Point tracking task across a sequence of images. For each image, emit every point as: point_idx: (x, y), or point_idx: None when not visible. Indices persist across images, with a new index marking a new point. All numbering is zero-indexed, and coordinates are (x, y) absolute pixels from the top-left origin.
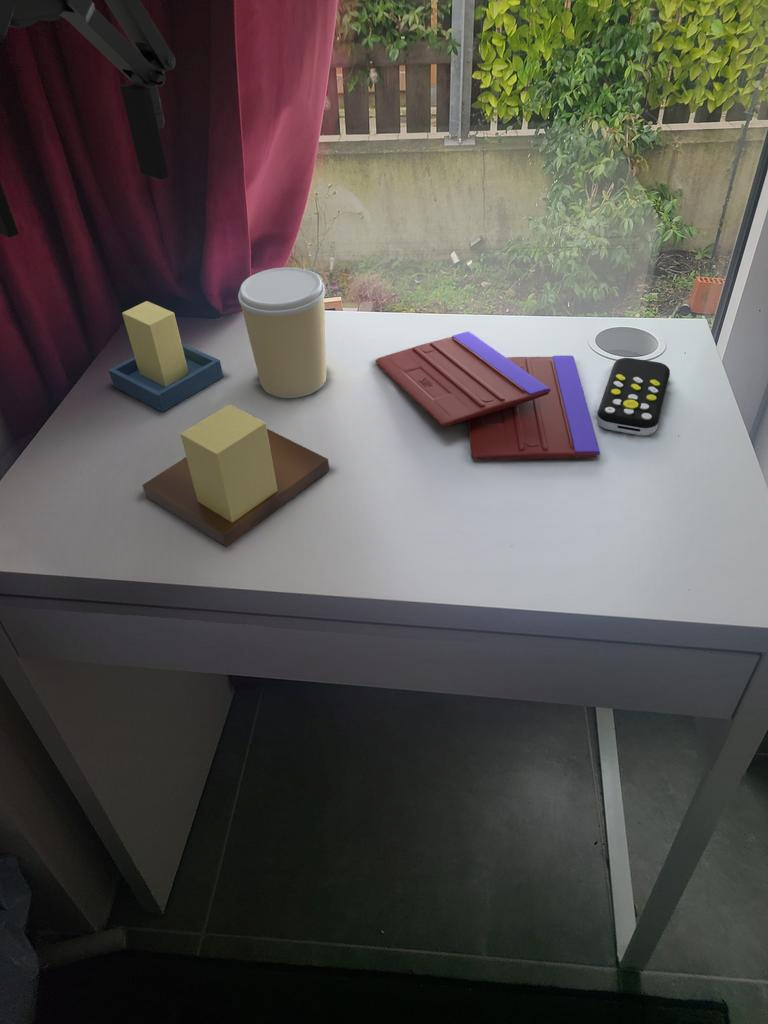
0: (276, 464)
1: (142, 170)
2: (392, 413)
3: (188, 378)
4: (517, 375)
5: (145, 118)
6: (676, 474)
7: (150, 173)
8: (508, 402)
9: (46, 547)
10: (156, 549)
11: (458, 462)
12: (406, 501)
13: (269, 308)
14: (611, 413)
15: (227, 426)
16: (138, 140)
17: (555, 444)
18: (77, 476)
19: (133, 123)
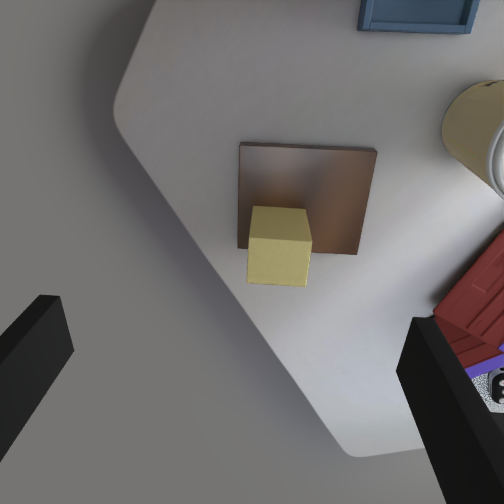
0: (328, 225)
1: (412, 329)
2: (455, 244)
3: (413, 31)
4: None
5: (445, 485)
6: None
7: (404, 350)
8: (480, 339)
9: (142, 121)
10: (203, 201)
11: (409, 316)
12: (349, 310)
13: (495, 176)
14: (499, 384)
15: (282, 265)
16: (434, 392)
17: None
18: (218, 50)
19: (455, 424)
